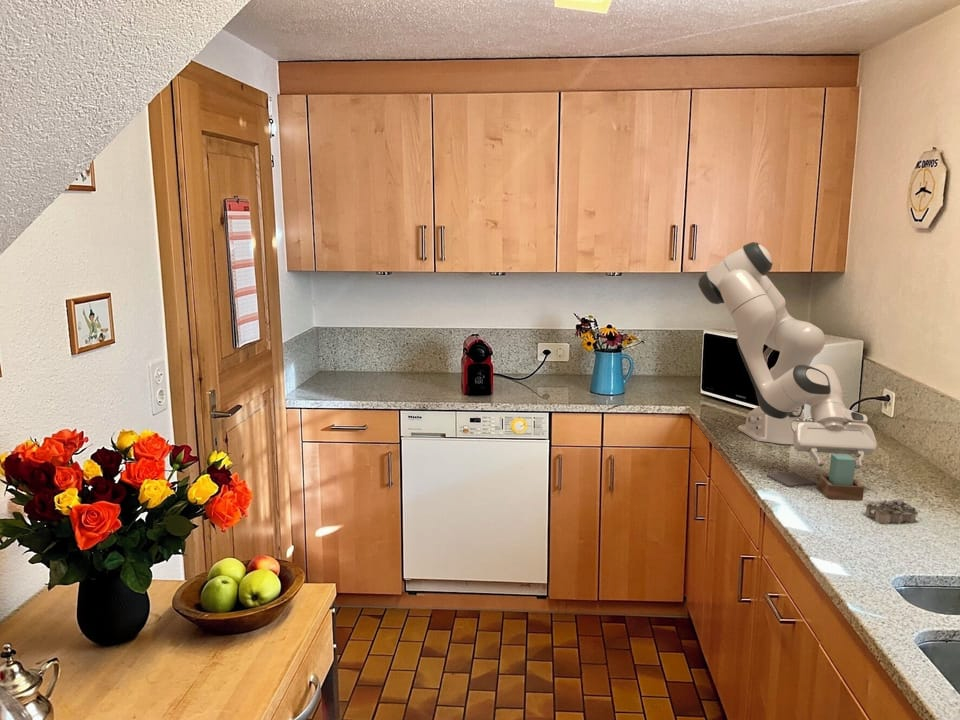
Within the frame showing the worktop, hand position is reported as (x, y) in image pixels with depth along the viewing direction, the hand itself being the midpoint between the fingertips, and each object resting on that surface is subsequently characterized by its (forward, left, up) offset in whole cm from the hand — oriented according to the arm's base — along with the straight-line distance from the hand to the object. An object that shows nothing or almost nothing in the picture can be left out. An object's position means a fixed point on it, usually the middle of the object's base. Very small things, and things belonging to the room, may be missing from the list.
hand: (839, 466), depth 197 cm
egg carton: (+17, 0, -8) cm, 19 cm away
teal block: (+1, 0, -7) cm, 7 cm away
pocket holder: (+1, 0, -7) cm, 7 cm away
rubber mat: (-11, -5, -7) cm, 14 cm away
